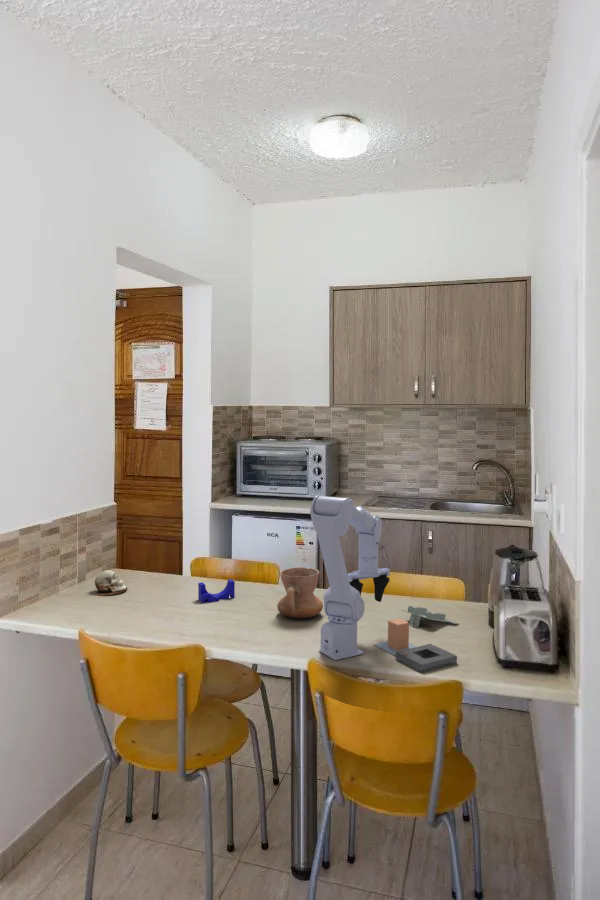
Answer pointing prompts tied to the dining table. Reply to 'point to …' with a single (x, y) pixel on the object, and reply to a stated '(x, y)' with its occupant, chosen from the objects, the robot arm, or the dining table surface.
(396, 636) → the square peg
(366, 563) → the robot arm
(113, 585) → the skull
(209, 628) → the dining table surface
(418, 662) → the socket plate
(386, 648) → the rubber mat
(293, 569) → the ceramic jug
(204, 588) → the blue curved cradle
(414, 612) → the metal bracket
